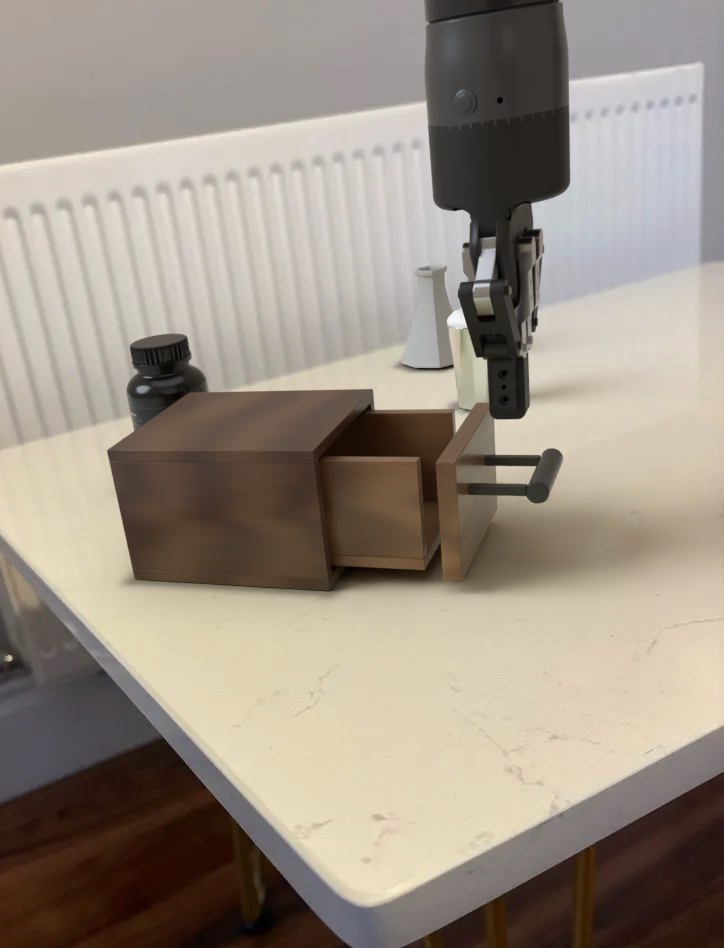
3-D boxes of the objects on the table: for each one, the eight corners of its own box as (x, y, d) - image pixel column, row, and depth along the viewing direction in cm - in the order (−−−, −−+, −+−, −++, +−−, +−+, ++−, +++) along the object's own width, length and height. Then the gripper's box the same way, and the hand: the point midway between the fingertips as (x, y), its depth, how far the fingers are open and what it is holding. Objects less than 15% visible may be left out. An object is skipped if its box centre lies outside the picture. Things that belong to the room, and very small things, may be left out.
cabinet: (384, 514, 77) (373, 388, 72) (329, 591, 67) (312, 451, 62) (209, 508, 82) (189, 392, 78) (134, 579, 72) (106, 450, 68)
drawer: (569, 510, 71) (568, 401, 67) (543, 586, 61) (541, 463, 58) (318, 504, 78) (306, 404, 74) (261, 571, 69) (244, 460, 65)
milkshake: (474, 417, 94) (469, 307, 89) (442, 405, 98) (436, 299, 94) (515, 406, 95) (512, 296, 91) (482, 394, 100) (478, 289, 95)
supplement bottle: (139, 473, 92) (112, 340, 87) (213, 457, 93) (191, 325, 88) (150, 497, 86) (122, 356, 81) (229, 480, 87) (206, 340, 82)
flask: (389, 366, 113) (382, 273, 109) (431, 349, 117) (426, 259, 113) (441, 373, 108) (435, 276, 104) (483, 355, 112) (479, 261, 108)
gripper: (548, 110, 49) (555, 453, 57) (585, 88, 59) (587, 381, 67) (396, 130, 52) (423, 454, 60) (457, 106, 62) (473, 384, 70)
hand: (510, 414), depth 63 cm, fingers closed
